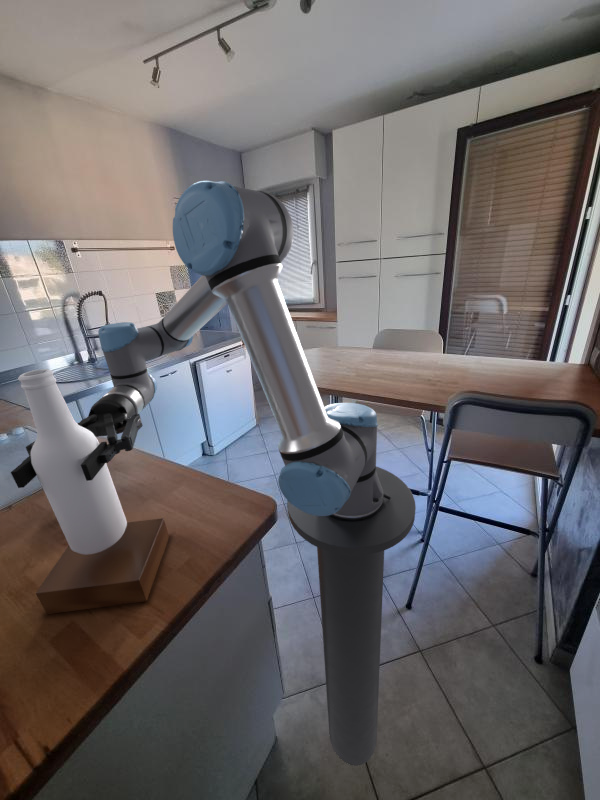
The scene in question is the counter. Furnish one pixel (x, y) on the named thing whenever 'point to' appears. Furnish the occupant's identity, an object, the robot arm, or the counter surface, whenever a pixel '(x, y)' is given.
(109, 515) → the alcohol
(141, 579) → the stand
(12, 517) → the counter surface
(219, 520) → the counter surface
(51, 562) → the counter surface
